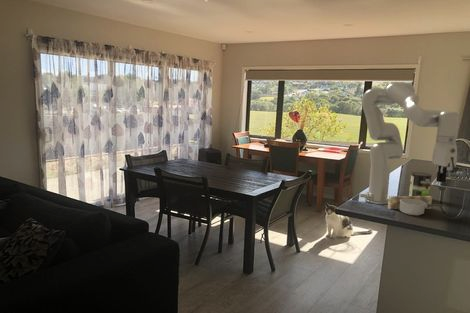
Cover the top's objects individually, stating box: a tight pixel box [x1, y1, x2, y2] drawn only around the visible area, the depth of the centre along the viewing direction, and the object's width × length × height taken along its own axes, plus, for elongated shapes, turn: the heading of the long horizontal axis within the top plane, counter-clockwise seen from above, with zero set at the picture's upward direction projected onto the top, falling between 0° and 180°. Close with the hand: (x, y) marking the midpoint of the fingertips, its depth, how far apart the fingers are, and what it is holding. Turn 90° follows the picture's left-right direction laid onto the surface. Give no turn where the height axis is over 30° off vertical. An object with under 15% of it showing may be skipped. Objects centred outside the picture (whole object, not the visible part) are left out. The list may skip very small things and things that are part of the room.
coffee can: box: [408, 171, 433, 196], centre depth 204 cm, size 10×10×14 cm
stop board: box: [387, 195, 433, 210], centre depth 184 cm, size 22×2×6 cm, turn 97°
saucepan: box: [399, 199, 447, 216], centre depth 176 cm, size 12×20×6 cm, turn 72°
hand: (440, 181), depth 162 cm, fingers closed
